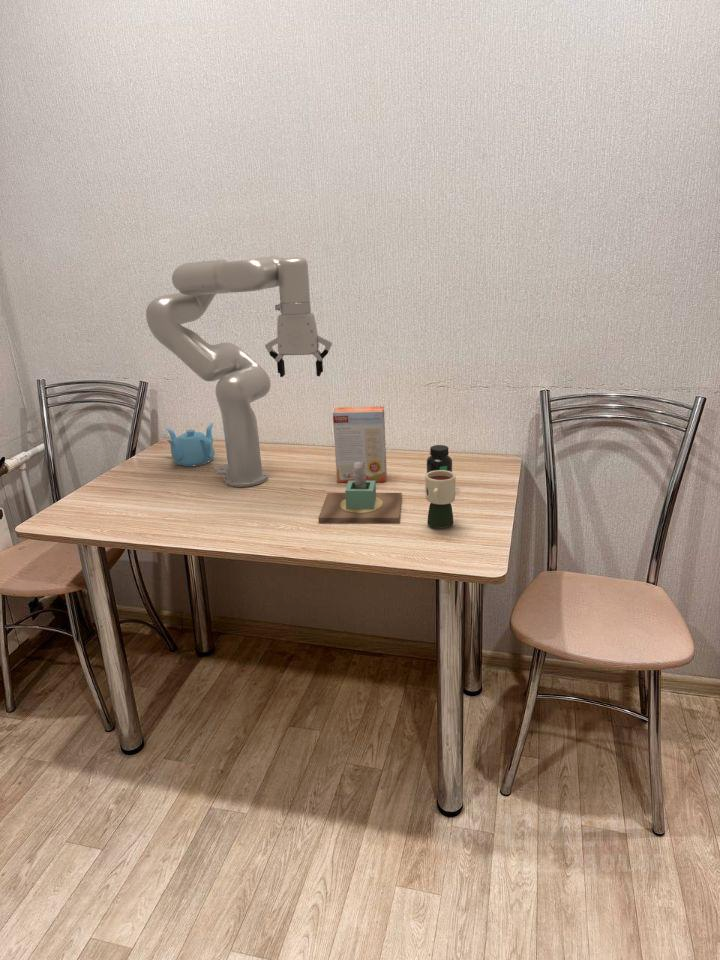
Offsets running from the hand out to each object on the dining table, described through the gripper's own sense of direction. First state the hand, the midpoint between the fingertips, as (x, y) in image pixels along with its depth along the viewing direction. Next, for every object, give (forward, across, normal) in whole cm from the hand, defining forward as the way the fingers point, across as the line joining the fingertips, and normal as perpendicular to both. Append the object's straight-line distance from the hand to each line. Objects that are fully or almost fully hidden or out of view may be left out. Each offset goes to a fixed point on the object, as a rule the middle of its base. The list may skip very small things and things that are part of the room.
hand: (300, 375), depth 181 cm
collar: (+30, +16, -14) cm, 37 cm away
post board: (+32, +16, -14) cm, 39 cm away
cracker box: (+32, +14, +8) cm, 36 cm away
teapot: (+33, -42, +25) cm, 59 cm away
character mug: (+32, +36, -23) cm, 54 cm away
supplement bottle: (+32, +36, 0) cm, 48 cm away
